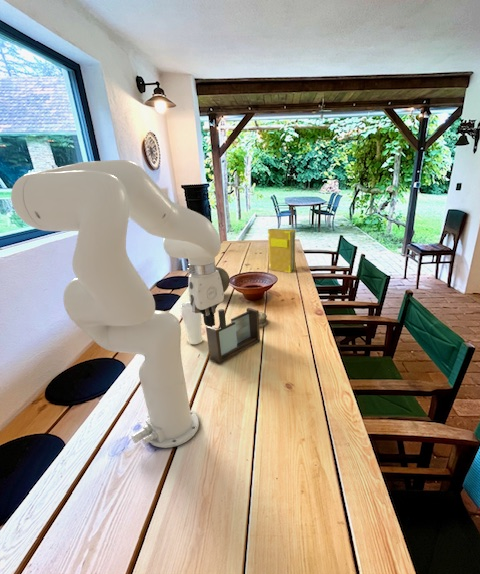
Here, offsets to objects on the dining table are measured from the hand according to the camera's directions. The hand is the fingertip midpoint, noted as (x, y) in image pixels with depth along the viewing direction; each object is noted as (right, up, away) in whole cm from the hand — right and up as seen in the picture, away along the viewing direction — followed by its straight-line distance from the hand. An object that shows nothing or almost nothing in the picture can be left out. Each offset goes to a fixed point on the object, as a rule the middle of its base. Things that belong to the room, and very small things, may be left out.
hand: (209, 325), depth 101 cm
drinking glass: (-9, -7, +21) cm, 23 cm away
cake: (+13, 0, +34) cm, 36 cm away
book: (+27, +34, +106) cm, 114 cm away
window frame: (+7, -9, +13) cm, 18 cm away
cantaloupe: (-8, +14, +66) cm, 68 cm away
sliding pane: (+5, -10, +9) cm, 14 cm away
